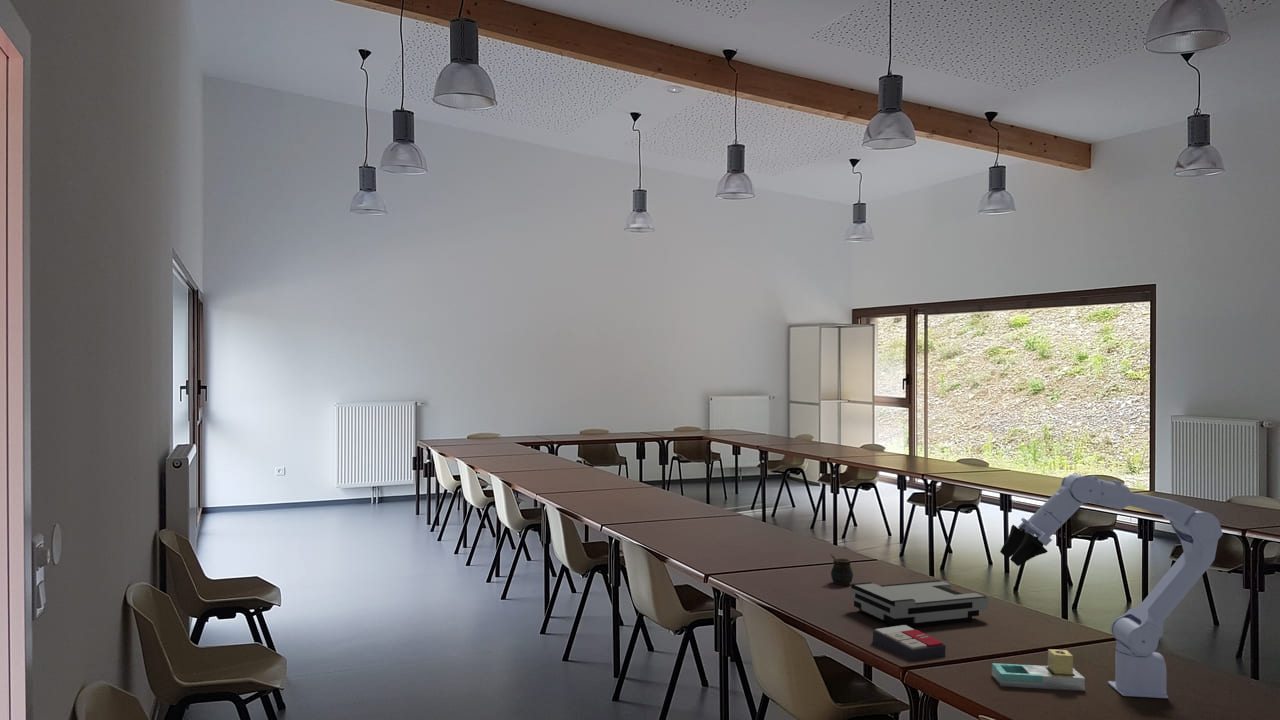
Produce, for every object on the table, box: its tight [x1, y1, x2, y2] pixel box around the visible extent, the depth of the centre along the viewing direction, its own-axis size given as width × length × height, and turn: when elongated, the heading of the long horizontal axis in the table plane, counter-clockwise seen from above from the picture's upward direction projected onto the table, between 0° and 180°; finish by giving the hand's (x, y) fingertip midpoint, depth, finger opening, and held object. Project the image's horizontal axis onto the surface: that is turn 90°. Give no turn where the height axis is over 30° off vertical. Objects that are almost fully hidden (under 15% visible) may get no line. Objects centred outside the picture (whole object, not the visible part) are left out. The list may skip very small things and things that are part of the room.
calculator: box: [872, 625, 946, 662], centre depth 215 cm, size 11×4×15 cm
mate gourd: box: [829, 553, 854, 586], centre depth 281 cm, size 7×8×10 cm
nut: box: [1047, 648, 1074, 676], centre depth 192 cm, size 4×4×6 cm
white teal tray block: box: [991, 662, 1086, 692], centre depth 193 cm, size 18×7×3 cm, turn 83°
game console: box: [850, 579, 989, 629], centre depth 245 cm, size 21×32×8 cm, turn 110°
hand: (1008, 558), depth 192 cm, fingers open, 7 cm apart
